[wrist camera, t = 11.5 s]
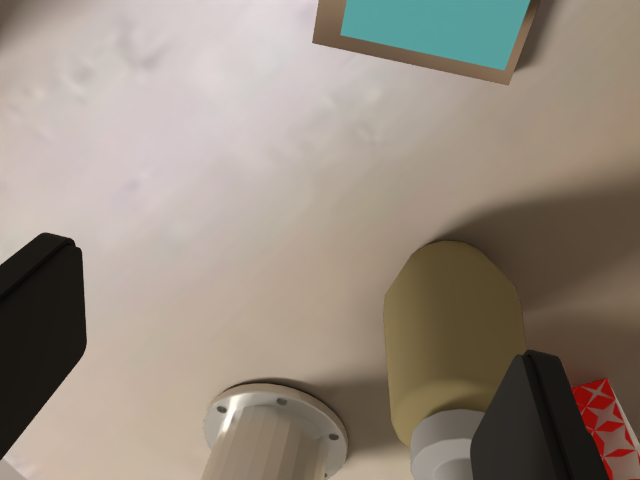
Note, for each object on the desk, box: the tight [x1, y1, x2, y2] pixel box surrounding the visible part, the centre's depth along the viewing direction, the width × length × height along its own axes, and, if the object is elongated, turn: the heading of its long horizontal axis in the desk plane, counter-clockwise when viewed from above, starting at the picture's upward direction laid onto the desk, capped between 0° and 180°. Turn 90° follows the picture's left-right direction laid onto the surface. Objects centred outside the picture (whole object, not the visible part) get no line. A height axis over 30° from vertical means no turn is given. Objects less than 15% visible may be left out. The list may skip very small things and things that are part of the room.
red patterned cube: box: [571, 378, 640, 480], centre depth 36 cm, size 8×8×8 cm
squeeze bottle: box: [383, 240, 526, 480], centre depth 27 cm, size 8×8×18 cm
